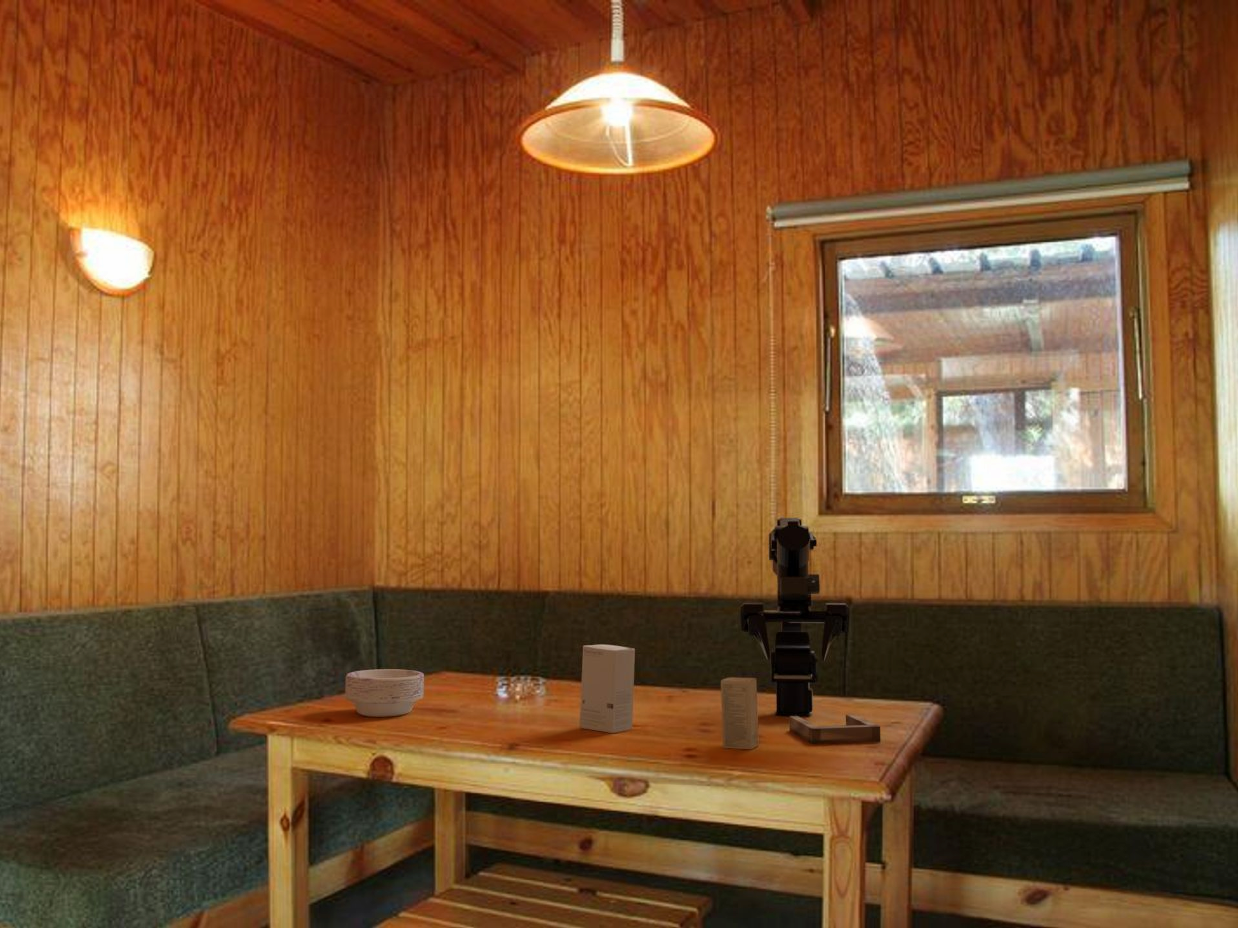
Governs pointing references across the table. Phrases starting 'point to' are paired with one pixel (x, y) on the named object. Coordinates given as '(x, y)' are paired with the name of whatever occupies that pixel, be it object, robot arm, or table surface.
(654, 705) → the table surface
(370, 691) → the paper bowls
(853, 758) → the table surface
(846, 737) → the walnut u rest
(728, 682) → the box
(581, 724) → the skincare box
